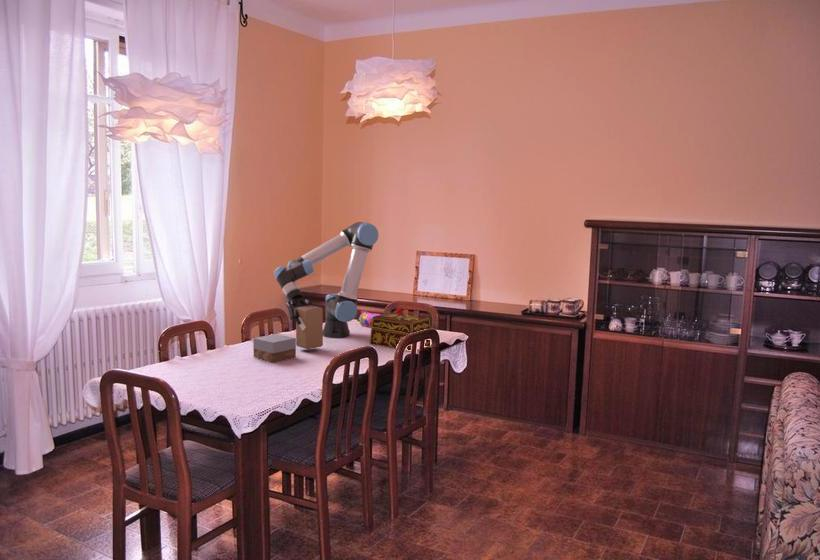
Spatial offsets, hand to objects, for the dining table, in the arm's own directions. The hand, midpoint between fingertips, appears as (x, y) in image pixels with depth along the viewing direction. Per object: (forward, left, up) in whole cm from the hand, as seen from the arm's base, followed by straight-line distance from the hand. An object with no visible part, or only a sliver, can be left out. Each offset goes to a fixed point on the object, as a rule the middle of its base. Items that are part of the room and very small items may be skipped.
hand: (313, 327), depth 327 cm
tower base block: (-3, -22, -12) cm, 25 cm away
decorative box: (+20, +42, -12) cm, 49 cm away
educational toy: (+1, +63, -12) cm, 65 cm away
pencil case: (-21, +65, -12) cm, 69 cm away
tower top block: (-2, -22, -7) cm, 23 cm away
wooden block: (-3, 0, -10) cm, 11 cm away
